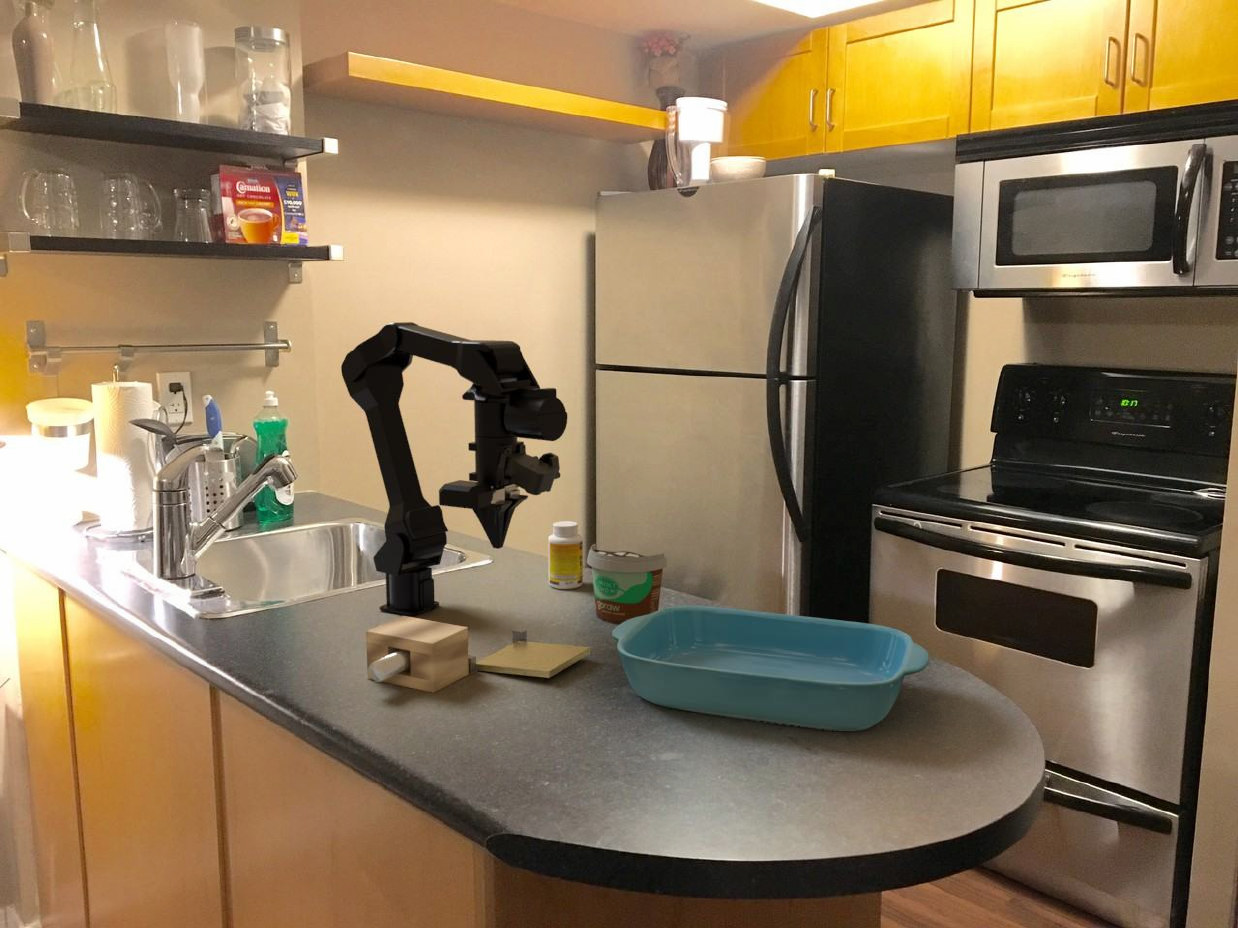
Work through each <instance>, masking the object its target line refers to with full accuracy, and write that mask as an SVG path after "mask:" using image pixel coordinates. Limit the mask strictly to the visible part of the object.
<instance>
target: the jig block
mask: <svg viewBox="0 0 1238 928" xmlns="http://www.w3.org/2000/svg"><path fill="white" fill-rule="evenodd" d="M468 629H469V628H468V626H463V625H462V626H461V625H456V624H450V623H446V622H441V621H440V622H439V621H433V620H429V619H423V618H419V617H418V618H417V617H413V616H408V615H402V616H398V617H397V618H394V619H392V620H389V621H386V622H385V623H382V624H380V625H377V626H375V627H372V628H370V629H368V630H366V631H365V641H366V642H365V643H366V644H365V645H366V666H367V667H366V670H367V672H366V673H367V674H366V675H367V679H369V680H373V679H372V678H371V676H370V673H369V666H370V664H371V663H372V662H375V661H377V660H379V659H381V658H383V657H386V656H388V655H390V654H392V653H395V652H397V651H399V650H401V649H404V650H409V651H410V660H411V667H410V668H408V669H406V670H404V671H402V672H400V673H397V674H395V675H393V676H391V677H389V678H387V679H385V680H383V681H381V682H384V683H388V684H392V685H396V686H397V685H398V686H401V687H405V688H411V689H415V690H419V691H423V692H429V693H432V694H433V693H436V692H437V691H438V692H439V690H441V689H443V688H445V687H447V686H449V685H451V684H453V683H454V682H456V681H458V680H461V679H462V678H464V677H466V676H468V675H470V674H469V665H468V655H469V630H468Z"/></svg>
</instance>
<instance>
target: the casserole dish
mask: <svg viewBox="0 0 1238 928" xmlns="http://www.w3.org/2000/svg"><path fill="white" fill-rule="evenodd" d="M611 637H612V639H614V640H615V641H616V642H617V644H616V645H617V646H616V647H617V649H616V650H617V652H618V654H619V657H620V660H621V664H622V668H623V670H624V672H625V675H626V678H627V679H628V682H629V684H630V686H631V688H632V689H633V690H634V692H635V693H637V695H638V696H640V697H641V698H643V699H644V700H646V701H648V702H650V703H652V704H655V705H658V706H660V707H661V706H662V707H665V708H671V709H674V710H675V709H677V710H681V711H685V712H686V711H687V712H694V713H700V714H706V715H710V716H711V715H712V716H719V717H724V716H725V717H726V718H731V717H732V718H733V719H738V718H739V719H738V720H750V721H753V720H755V721H754V722H760V721H764V722H763V723H767V722H770V723H769V724H775V723H778V724H777V725H782V724H785V725H784V726H790V725H794V726H793V727H798V726H800V727H799V728H806V727H807V728H808V729H814V728H815V730H822V729H824V730H823V731H832V730H833V731H834V732H835V731H836V732H858V731H865V730H868V729H870V728H871V727H873V726H876V725H877V724H878V723H880V722H882V721H883V719H885V718H886V717H887V716H888V714H889V713H890V711H891V710H892V708H893V706H894V704H895V702H896V700H897V697H898V695H899V694H900V690H901V687H902V685H903V683H904V679H905V677H906V676H909V675H915V674H917V673H920V672H922V671H924V670H925V668H927V666H928V665H929V663H930V654H929V652H928V650H927V649H925V648H924V647H923V646H921V645H920V644H918V643H916V642H914V640H913V638H912V636H910V635H909V634H907V633H906V632H904V631H901V630H899V629H895V628H893V627H889V626H884V625H879V624H872V623H868V622H867V623H866V622H857V621H848V620H841V619H840V620H839V619H829V618H821V617H812V616H803V615H793V614H783V613H777V612H767V611H765V612H764V611H759V610H758V611H757V610H749V609H748V610H747V609H738V608H728V607H719V606H718V607H717V606H706V605H704V606H702V605H681V606H680V605H679V606H678V605H677V606H670V607H665V608H662V609H658V611H655V612H653V613H651V614H648V615H644V616H639V617H635V618H632V619H629V620H626V621H625V622H623V623H621V624H618V626H616V627H615V628H614V629H613V630H612V633H611Z"/></svg>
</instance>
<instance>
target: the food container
mask: <svg viewBox="0 0 1238 928" xmlns="http://www.w3.org/2000/svg"><path fill="white" fill-rule="evenodd" d="M586 563H587V565H588V566H590V567H591V572H592V585H593V593H594V606H595V615H596V618H597V619H599V620H601V621H602V622H606V623H609V624H615V625H620V624H621V623H623V622H625V621H626V620H629V619H632V618H635V617H639V616H644V615H648V614H651V613H653V612H655V611H658V610H659V608H660V607H659V606H660V595H661V590H662V589H661V587H662V580H663V579H662V578H663V569H665V568H667V567H668V564H667V558H666V556H665V552H661V553H657V554H654V555H647V556H646V555H642V554H638V553H636V552H632V551H626V550H625V551H608V550H599V549H597V546H596V543H594V544H592V545H591V546H590V549H589V550H588V554H587V560H586Z"/></svg>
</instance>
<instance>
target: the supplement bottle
mask: <svg viewBox="0 0 1238 928" xmlns="http://www.w3.org/2000/svg"><path fill="white" fill-rule="evenodd" d="M578 524H579V523H578V522H575V521H572V520H571V521H570V520H565V521H563V520H562V521H556V522H554V523H553V524H552V534H550V535H549V536H548V539H547V561H548V562H547V570H548V571H547V573H548V574H547V575H548V577H547V578H548V585H549V586H550V587H551V588H553V589H558V590H571V589H577V588H579V587H581V586H582V585H583V582H584V581H583V580H584V579H583V577H584V573H583V571H584V569H583V568H584V564H583V563H584V561H583V558H584V545H583V543H584V541H583V538H584V537H583V536H582V535H581V534H579V527H578Z"/></svg>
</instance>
